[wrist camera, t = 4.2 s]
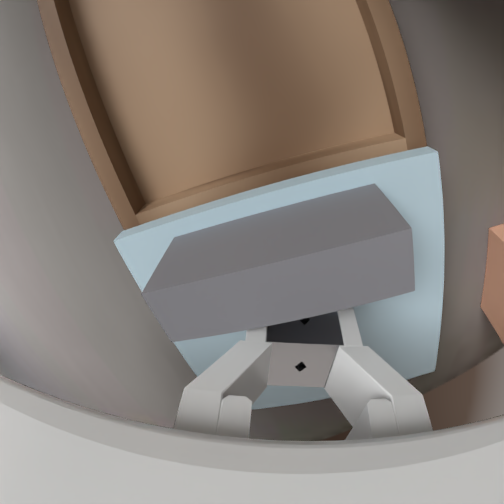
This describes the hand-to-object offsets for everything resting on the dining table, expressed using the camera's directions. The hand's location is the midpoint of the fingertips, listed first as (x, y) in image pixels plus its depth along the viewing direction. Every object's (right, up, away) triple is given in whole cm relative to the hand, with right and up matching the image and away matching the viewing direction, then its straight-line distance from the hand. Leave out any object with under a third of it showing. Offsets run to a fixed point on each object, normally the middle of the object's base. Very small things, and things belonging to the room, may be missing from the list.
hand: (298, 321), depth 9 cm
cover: (+1, 0, +2) cm, 2 cm away
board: (-1, +5, +1) cm, 5 cm away
